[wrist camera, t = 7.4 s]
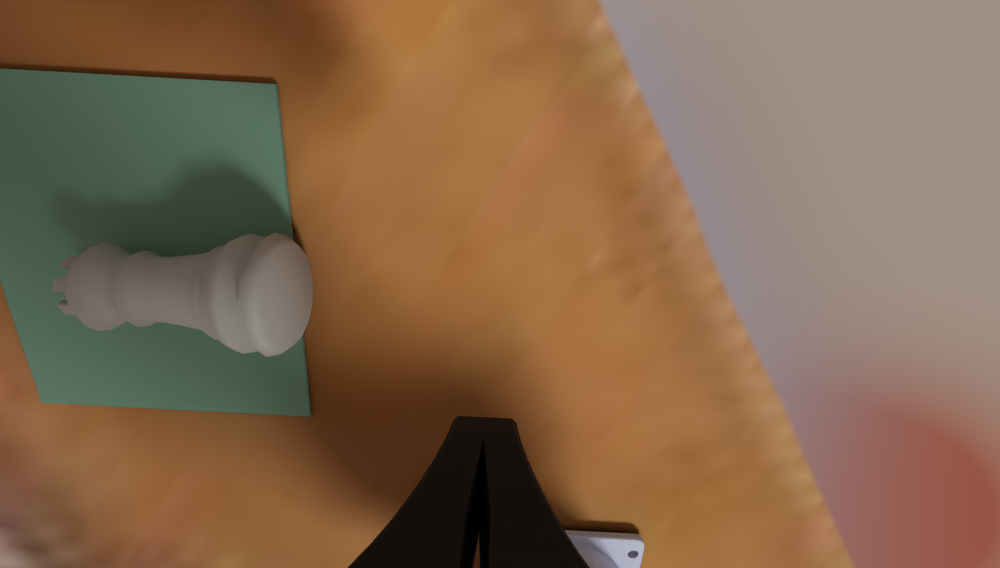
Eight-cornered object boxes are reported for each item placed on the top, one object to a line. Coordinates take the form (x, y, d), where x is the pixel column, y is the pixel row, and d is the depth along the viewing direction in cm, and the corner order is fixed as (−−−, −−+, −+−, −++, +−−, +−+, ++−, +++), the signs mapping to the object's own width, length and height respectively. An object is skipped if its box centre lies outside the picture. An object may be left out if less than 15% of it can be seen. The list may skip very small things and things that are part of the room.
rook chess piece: (258, 375, 17) (33, 361, 18) (318, 339, 22) (134, 329, 22) (252, 237, 17) (17, 228, 17) (315, 229, 21) (125, 223, 22)
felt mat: (311, 413, 24) (310, 416, 24) (45, 399, 24) (41, 402, 24) (277, 83, 19) (275, 84, 18) (-68, 64, 19) (-74, 64, 18)
